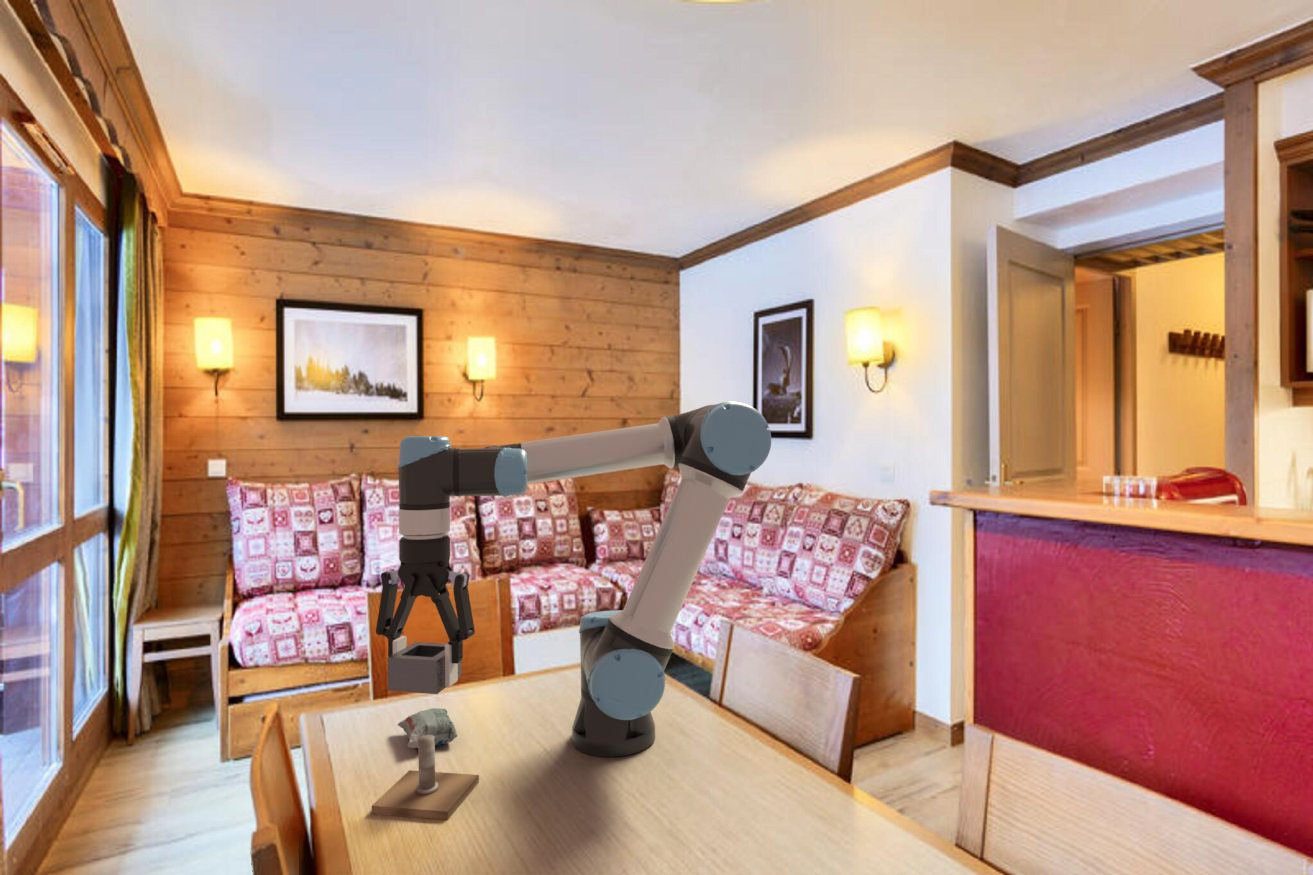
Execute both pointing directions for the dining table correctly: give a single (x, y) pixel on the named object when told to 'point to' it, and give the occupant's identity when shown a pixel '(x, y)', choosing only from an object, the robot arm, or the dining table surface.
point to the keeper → (426, 789)
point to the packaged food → (429, 726)
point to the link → (418, 669)
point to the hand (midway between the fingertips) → (425, 681)
